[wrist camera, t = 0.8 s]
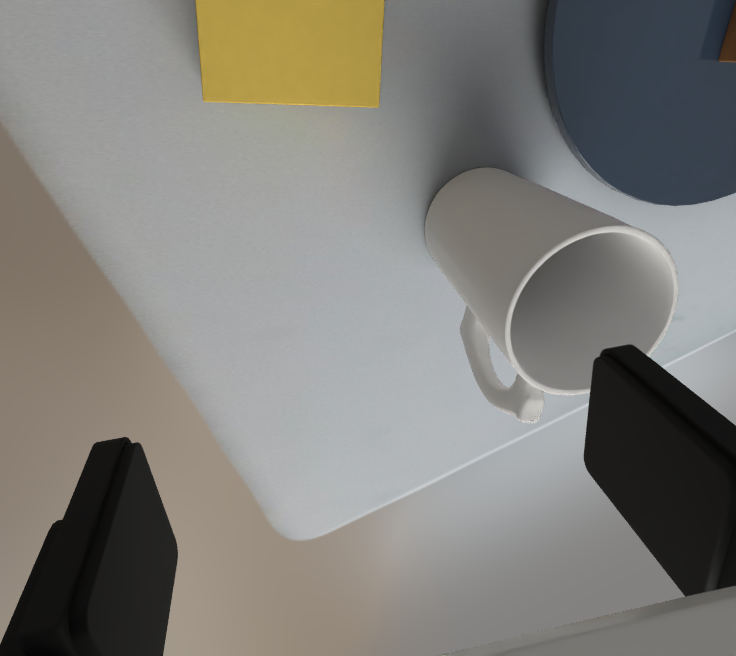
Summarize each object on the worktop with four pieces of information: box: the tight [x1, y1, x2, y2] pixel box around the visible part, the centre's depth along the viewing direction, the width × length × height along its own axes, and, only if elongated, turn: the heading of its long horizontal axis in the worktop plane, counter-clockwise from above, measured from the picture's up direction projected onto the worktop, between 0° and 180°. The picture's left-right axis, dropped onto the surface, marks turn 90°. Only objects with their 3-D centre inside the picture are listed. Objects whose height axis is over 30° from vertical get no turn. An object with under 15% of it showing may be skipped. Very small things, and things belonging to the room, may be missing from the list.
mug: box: [425, 167, 679, 423], centre depth 26 cm, size 10×7×12 cm, turn 167°
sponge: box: [195, 0, 385, 108], centre depth 23 cm, size 7×4×4 cm, turn 87°
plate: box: [544, 0, 736, 206], centre depth 28 cm, size 18×18×2 cm
